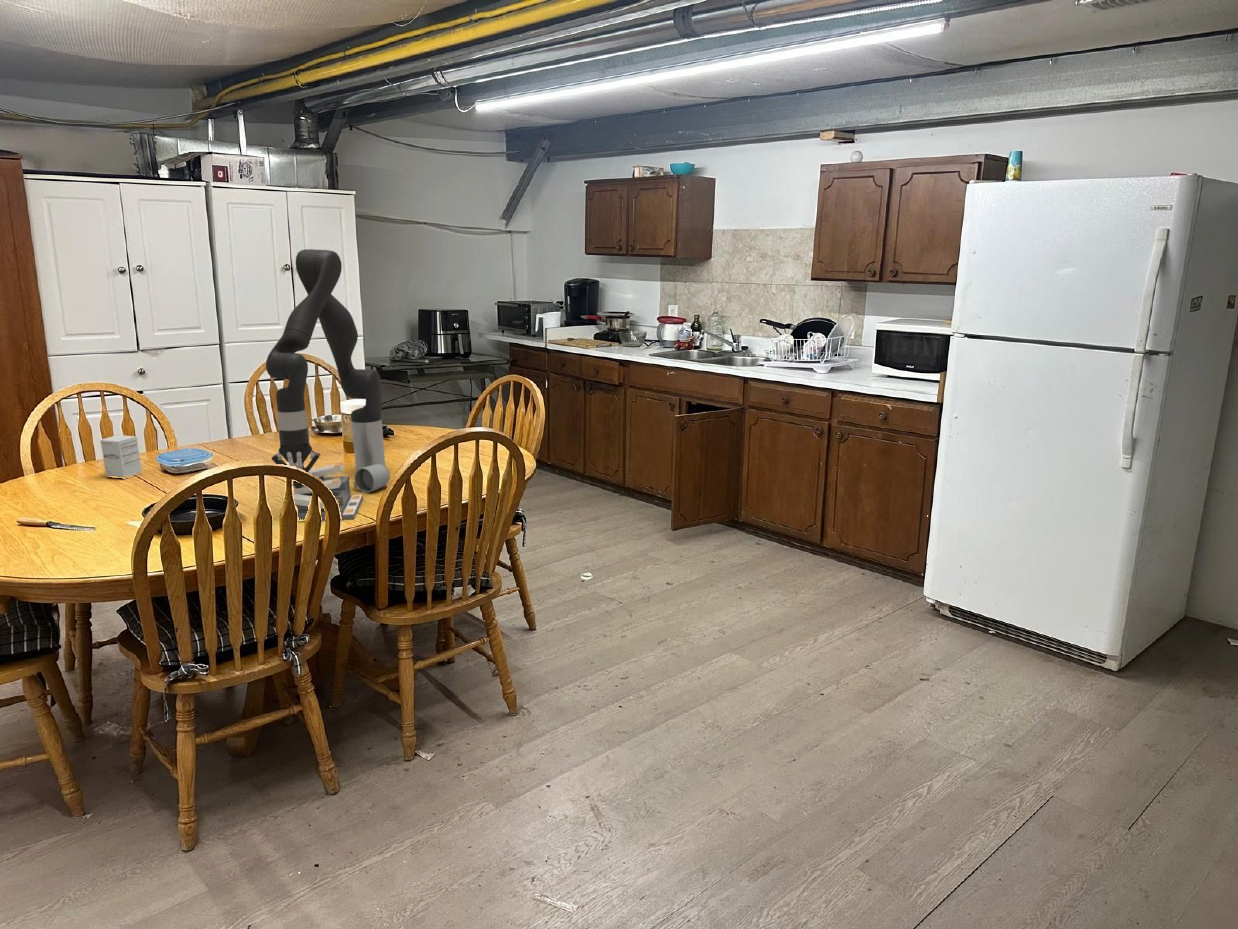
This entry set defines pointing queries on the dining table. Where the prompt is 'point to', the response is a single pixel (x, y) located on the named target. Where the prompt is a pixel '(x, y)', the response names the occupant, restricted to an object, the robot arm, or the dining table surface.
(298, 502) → the block
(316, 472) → the rear rocker
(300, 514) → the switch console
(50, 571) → the dining table surface
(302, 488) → the middle rocker
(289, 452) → the robot arm
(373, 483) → the ceramic mug
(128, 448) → the supplement box
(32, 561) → the dining table surface
